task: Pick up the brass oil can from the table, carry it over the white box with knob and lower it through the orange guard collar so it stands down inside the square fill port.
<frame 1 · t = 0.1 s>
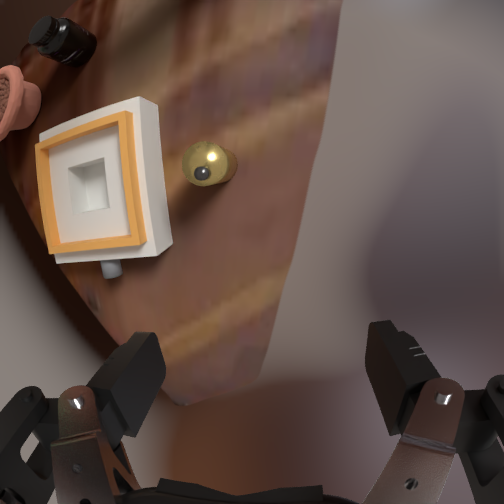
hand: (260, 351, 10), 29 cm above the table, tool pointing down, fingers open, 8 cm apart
decorative flower: (28, 106, 35), on the table
oil can: (220, 165, 36), on the table
supplement bottle: (83, 50, 32), on the table
white box with knob: (110, 183, 38), on the table
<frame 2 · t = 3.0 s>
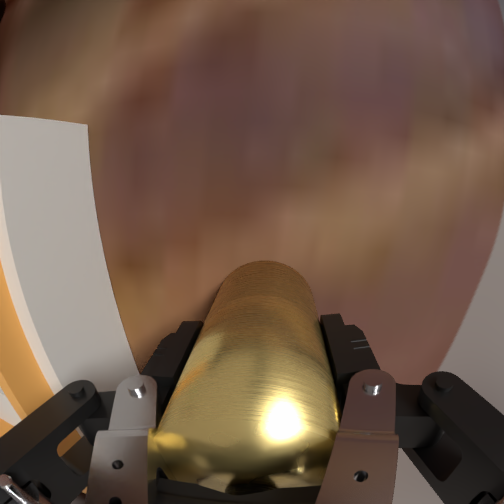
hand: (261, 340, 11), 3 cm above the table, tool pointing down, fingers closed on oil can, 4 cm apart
oil can: (265, 306, 14), on the table, touching gripper
white box with knob: (23, 305, 15), on the table
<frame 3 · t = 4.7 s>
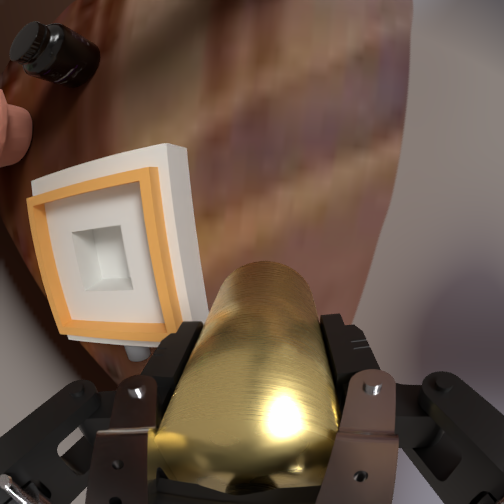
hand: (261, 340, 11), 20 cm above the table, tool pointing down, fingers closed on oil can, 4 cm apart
decorative flower: (17, 135, 29), on the table
oil can: (265, 307, 14), point 17 cm above the table, touching gripper
supplement bottle: (82, 65, 26), on the table
white box with knob: (126, 245, 32), on the table
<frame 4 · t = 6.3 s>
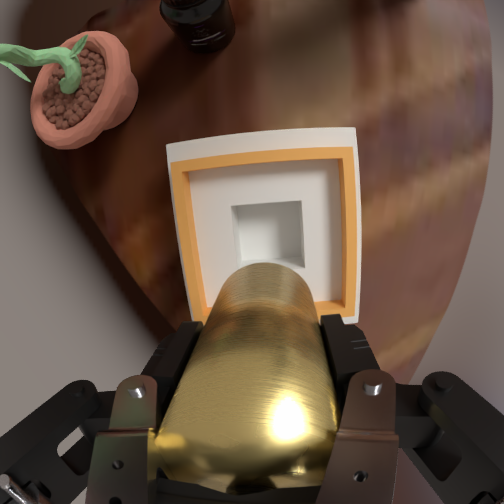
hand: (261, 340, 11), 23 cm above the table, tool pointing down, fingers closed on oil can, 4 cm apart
decorative flower: (110, 98, 30), on the table
oil can: (265, 308, 14), point 20 cm above the table, touching gripper
supplement bottle: (209, 33, 27), on the table
white box with knob: (270, 225, 33), on the table
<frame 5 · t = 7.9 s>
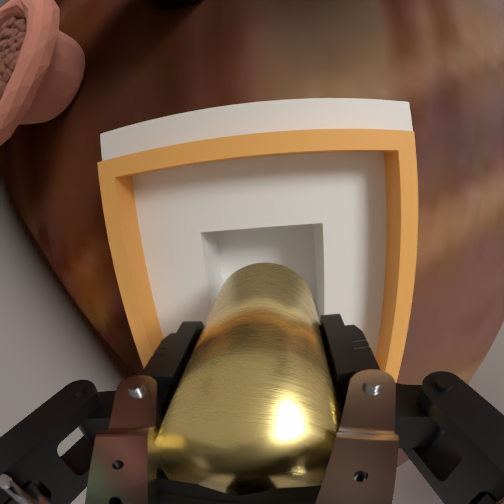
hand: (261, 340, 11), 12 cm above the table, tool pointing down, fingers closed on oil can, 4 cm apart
decorative flower: (54, 81, 19), on the table
oil can: (265, 308, 14), point 9 cm above the table, touching gripper
white box with knob: (268, 254, 22), on the table
when the fingers open (7 cm above the table, at t = 9.5 s): oil can drops 2 cm, resting on white box with knob.
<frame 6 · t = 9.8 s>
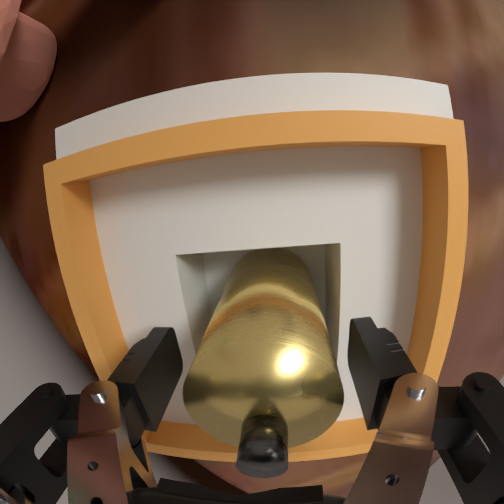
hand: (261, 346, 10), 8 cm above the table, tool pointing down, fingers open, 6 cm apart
decorative flower: (26, 74, 15), on the table
oil can: (270, 287, 16), point 2 cm above the table, touching white box with knob
white box with knob: (267, 274, 18), on the table
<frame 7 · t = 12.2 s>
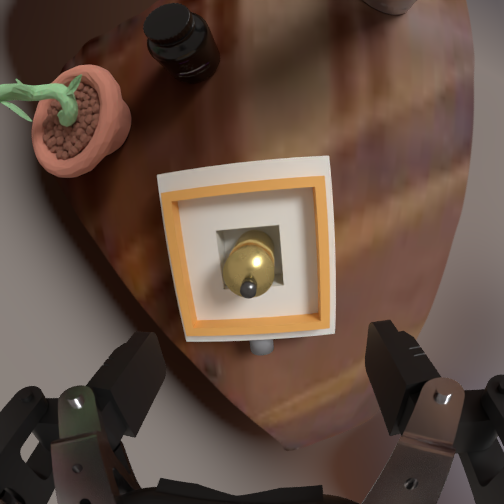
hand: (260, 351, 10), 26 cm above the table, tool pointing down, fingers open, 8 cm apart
decorative flower: (105, 125, 34), on the table
oil can: (254, 249, 34), point 2 cm above the table, touching white box with knob
supplement bottle: (196, 62, 31), on the table
white box with knob: (253, 245, 36), on the table
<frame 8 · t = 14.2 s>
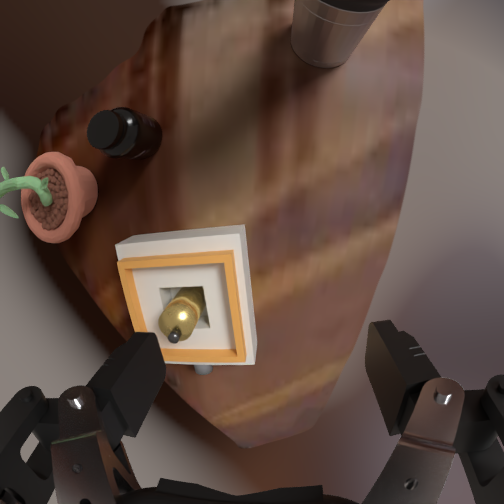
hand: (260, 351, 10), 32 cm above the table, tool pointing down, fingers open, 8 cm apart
decorative flower: (79, 190, 42), on the table
oil can: (193, 296, 43), point 2 cm above the table, touching white box with knob
supplement bottle: (144, 137, 39), on the table
white box with knob: (195, 291, 45), on the table
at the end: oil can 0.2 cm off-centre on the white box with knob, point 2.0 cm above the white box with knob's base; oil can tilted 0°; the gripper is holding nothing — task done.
